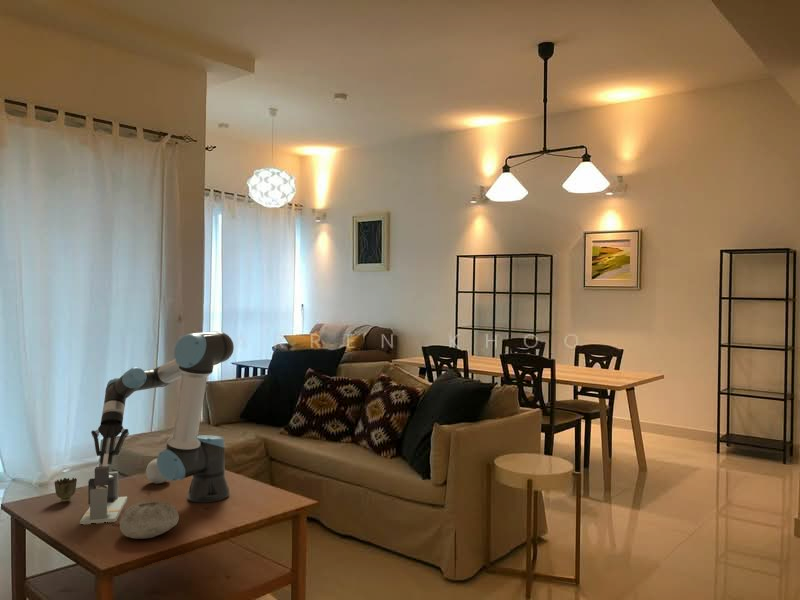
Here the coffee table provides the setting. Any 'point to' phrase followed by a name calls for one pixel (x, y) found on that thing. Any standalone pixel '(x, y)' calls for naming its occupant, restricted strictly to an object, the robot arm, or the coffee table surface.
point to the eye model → (154, 472)
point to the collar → (103, 483)
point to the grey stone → (148, 519)
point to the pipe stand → (103, 504)
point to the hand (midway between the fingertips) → (104, 471)
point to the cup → (65, 489)
